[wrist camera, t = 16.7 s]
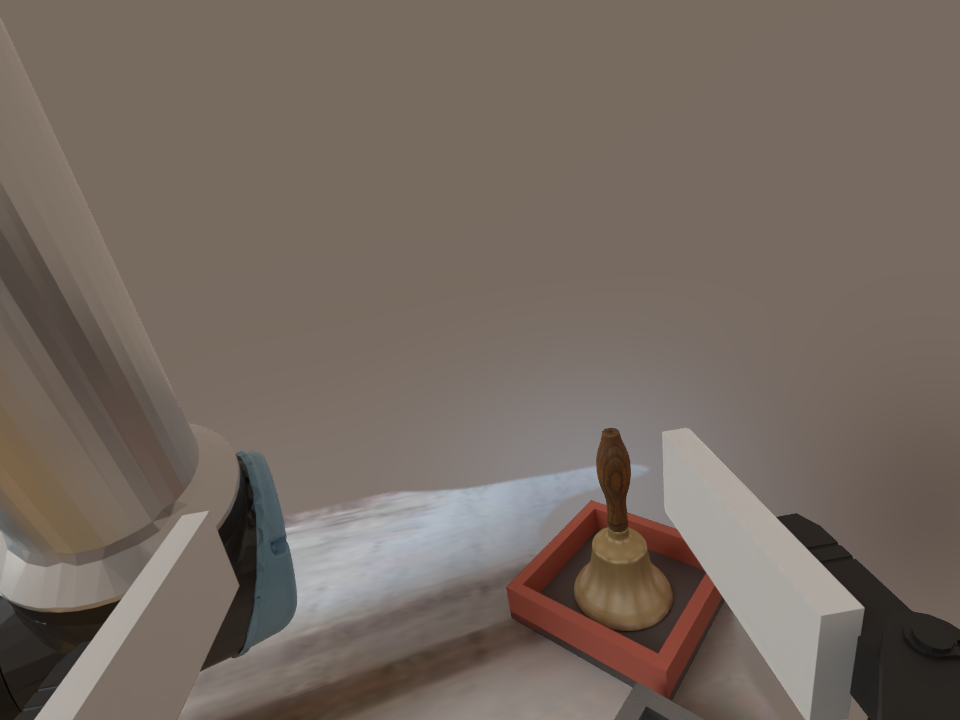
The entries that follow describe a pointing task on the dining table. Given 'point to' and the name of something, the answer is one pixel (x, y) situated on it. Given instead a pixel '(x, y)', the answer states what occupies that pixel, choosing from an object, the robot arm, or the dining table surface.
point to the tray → (624, 654)
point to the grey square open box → (652, 707)
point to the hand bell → (620, 556)
